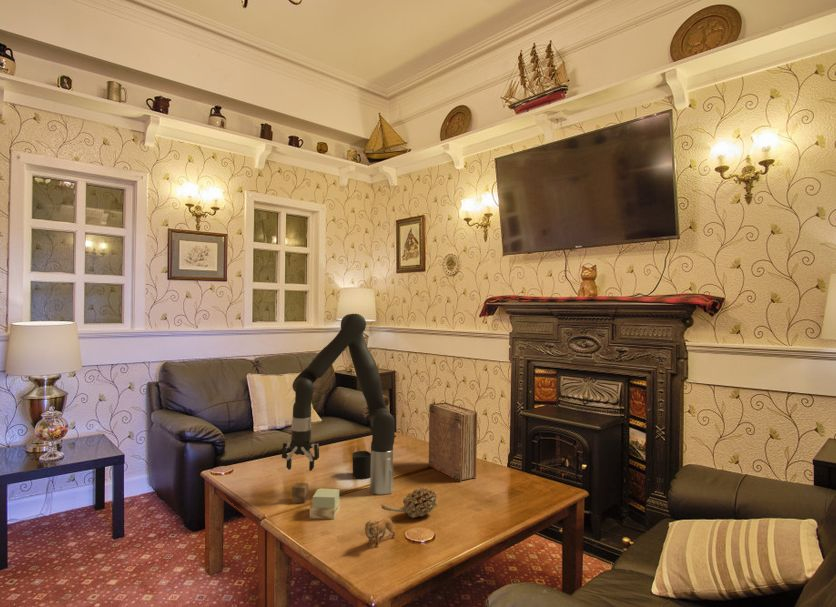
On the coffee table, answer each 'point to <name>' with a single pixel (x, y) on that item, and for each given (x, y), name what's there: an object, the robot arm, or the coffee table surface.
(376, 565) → the coffee table surface
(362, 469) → the pen holder
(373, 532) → the lion figurine
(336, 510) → the block
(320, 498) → the tower top
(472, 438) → the book
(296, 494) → the walnut block
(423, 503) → the pine cone
